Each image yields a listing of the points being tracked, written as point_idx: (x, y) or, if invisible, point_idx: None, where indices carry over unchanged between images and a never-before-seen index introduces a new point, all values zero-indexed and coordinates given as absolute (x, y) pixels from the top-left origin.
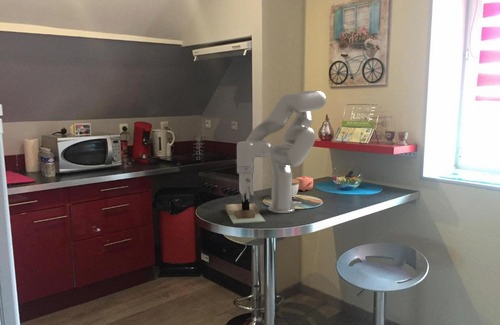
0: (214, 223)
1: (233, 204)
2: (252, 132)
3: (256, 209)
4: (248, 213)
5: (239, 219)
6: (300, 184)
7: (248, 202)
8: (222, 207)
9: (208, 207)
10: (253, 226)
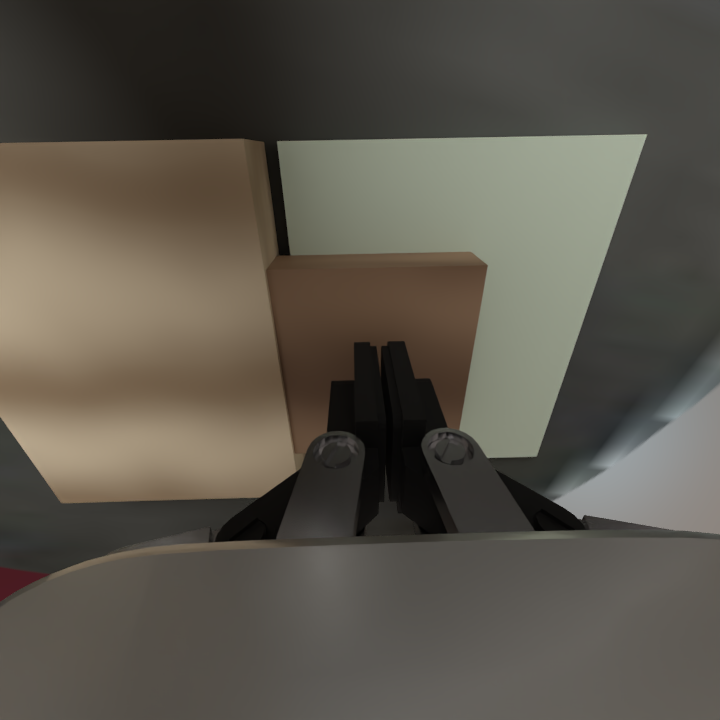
0: None
1: (28, 442)
2: None
3: (251, 192)
4: (441, 341)
5: (471, 406)
6: None
7: (423, 422)
8: (14, 475)
9: (47, 548)
10: (706, 312)
